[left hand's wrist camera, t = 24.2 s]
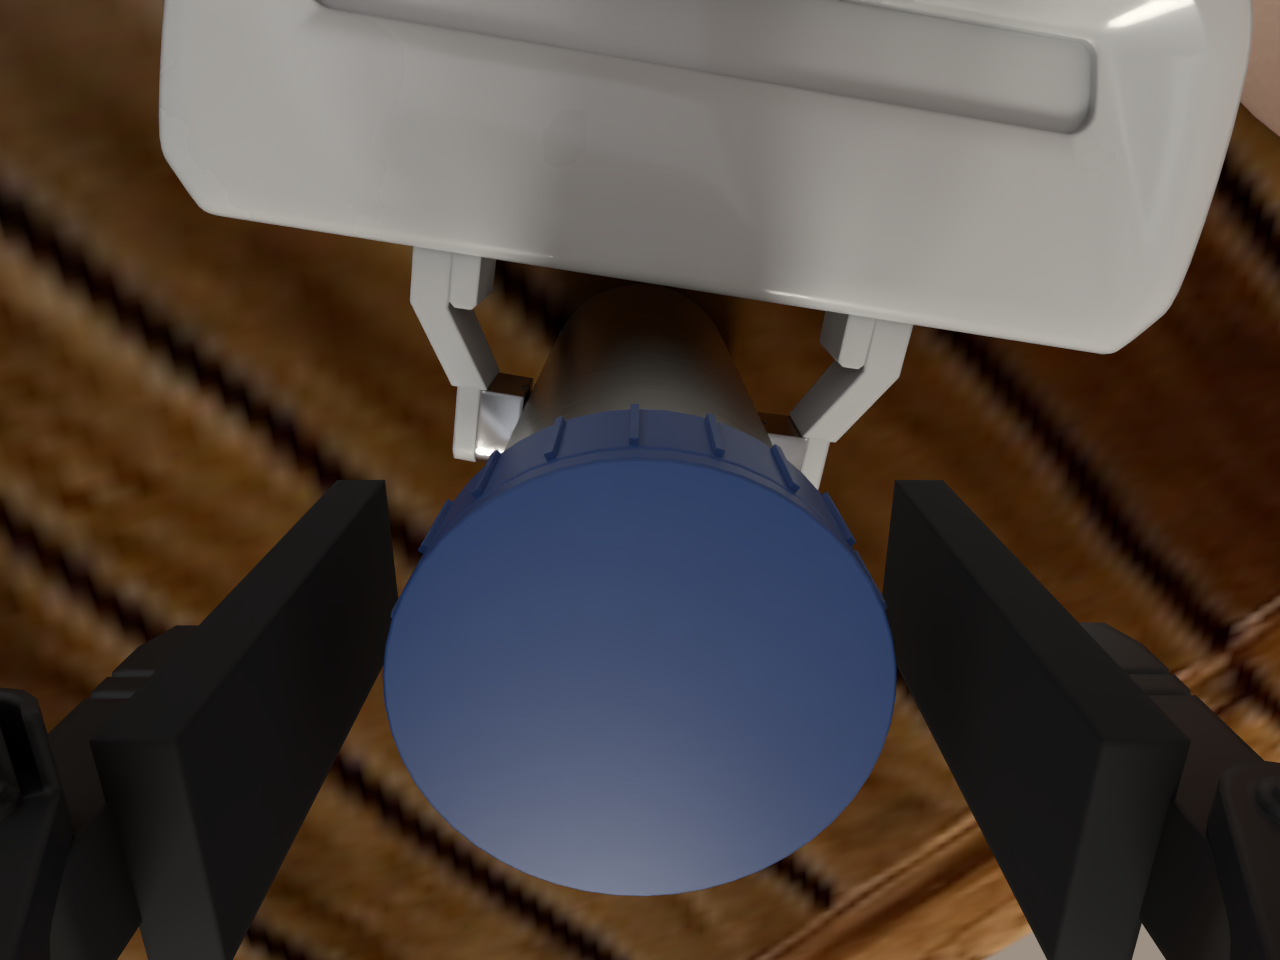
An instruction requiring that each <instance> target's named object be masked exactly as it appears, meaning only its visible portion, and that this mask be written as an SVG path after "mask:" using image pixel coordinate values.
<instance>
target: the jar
mask: <svg viewBox="0 0 1280 960" xmlns="http://www.w3.org/2000/svg"><path fill="white" fill-rule="evenodd" d="M631 404H639V409H649V410H668V411H674V412H679V413H685V414H691V415H697V416H700V417H703V418H705V417H706V414H707V413H709V414H713V415H715V418H716V422H720V423H723V424H726V425H728V426H730V427H733V428H735V429H737V430H739V431H741V432H744V433H746V434H748V435H750V436H752V437H754V438H756V439H757V440H759V441H761V442H762V443H764V444H765V445H767V446H769V447H770V448H772V447H773V444H772V442H771V440H770V438H769V436H768V434H767V432H766V430H765V427H764V425H763V423H762V421H761V419H760V417H759V415H758V413H757V411H756V408H755V406H754V404H753V402H752V400H751V398H750V396H749V394H748V391H747V389H746V387H745V385H744V383H743V381H742V379H741V377H740V374H739V372H738V370H737V368H736V366H735V364H734V362H733V360H732V357H731V355H730V353H729V351H728V349H727V347H726V345H725V343H724V341H723V338H722V336H721V334H720V332H719V330H718V329H717V327H716V325H715V324H714V322H713V321H712V319H711V318H710V317H709V316H708V314H707V313H706V312H705V311H704V310H703V309H702V308H701V307H700V306H698V305H697V304H696V303H695V302H694V301H692V300H691V299H689V298H688V297H686V296H684V295H683V294H681V293H678V292H676V291H674V290H672V289H669V288H665V287H662V286H658V285H651V284H629V285H622V286H618V287H614V288H611V289H608V290H606V291H603V292H601V293H599V294H597V295H595V296H593V297H592V298H590V299H589V300H587V301H586V302H585V303H583V304H582V305H581V306H580V307H579V308H578V309H577V310H576V311H575V312H574V313H573V314H572V315H571V316H570V318H569V319H568V320H567V321H566V323H565V324H564V326H563V328H562V330H561V331H560V333H559V335H558V337H557V339H556V341H555V344H554V346H553V348H552V350H551V352H550V354H549V356H548V358H547V361H546V363H545V365H544V367H543V369H542V371H541V373H540V375H539V378H538V380H537V382H536V384H535V386H534V388H533V390H532V392H531V395H530V397H529V399H528V401H527V403H526V405H525V407H524V409H523V412H522V414H521V416H520V418H519V420H518V422H517V424H516V426H515V429H514V431H513V433H512V435H511V437H510V439H509V441H508V443H507V446H506V448H505V450H507V449H508V448H510V447H511V446H512V445H514V444H515V443H517V442H518V441H520V440H522V439H524V438H526V437H528V436H530V435H532V434H534V433H536V432H538V431H540V430H542V429H544V428H546V427H549V426H552V425H554V422H555V419H556V418H558V417H561V416H563V417H564V419H565V421H566V420H569V419H572V418H576V417H580V416H585V415H590V414H594V413H599V412H604V411H615V410H627V409H630V407H631ZM505 450H504V451H505Z"/></svg>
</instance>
